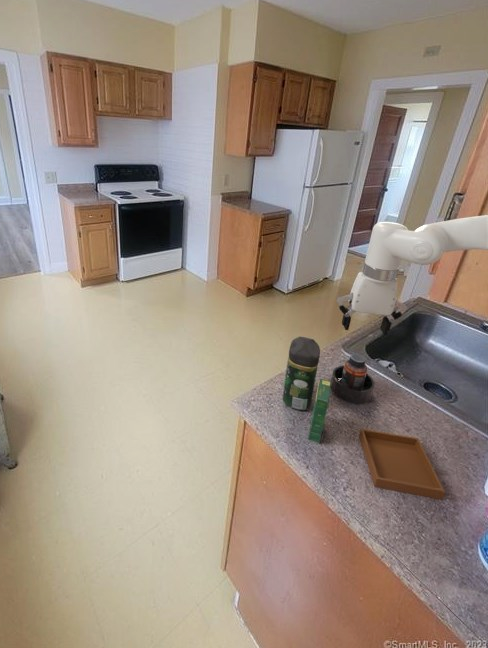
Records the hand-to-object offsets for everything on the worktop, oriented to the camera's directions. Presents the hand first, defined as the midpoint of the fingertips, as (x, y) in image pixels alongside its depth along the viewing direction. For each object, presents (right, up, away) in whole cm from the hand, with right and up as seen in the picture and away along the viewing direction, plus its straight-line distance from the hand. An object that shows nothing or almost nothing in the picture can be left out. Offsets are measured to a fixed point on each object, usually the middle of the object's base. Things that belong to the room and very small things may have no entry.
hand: (364, 329), depth 87 cm
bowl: (0, -19, +8) cm, 21 cm away
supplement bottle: (0, -19, +8) cm, 21 cm away
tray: (0, -28, -14) cm, 31 cm away
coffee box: (-15, -25, -5) cm, 29 cm away
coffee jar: (-17, -21, +4) cm, 27 cm away
